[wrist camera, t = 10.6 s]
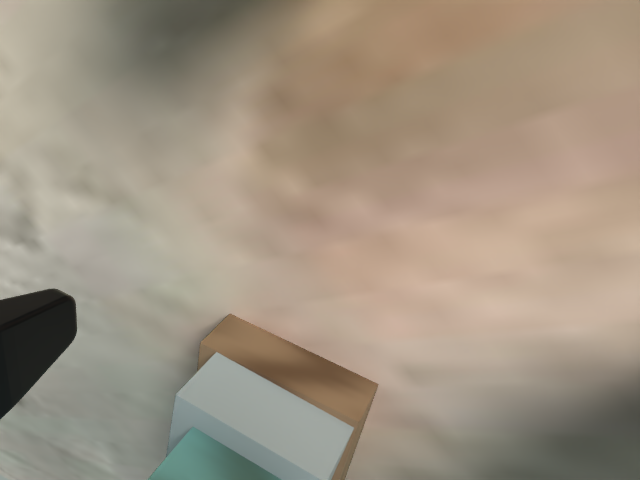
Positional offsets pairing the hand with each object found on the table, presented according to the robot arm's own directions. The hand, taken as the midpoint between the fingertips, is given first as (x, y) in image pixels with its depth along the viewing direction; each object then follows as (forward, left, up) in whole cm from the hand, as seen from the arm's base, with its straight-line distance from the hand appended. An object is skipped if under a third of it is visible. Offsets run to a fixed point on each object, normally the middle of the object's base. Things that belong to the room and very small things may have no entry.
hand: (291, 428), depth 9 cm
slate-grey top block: (+4, +15, -10) cm, 19 cm away
